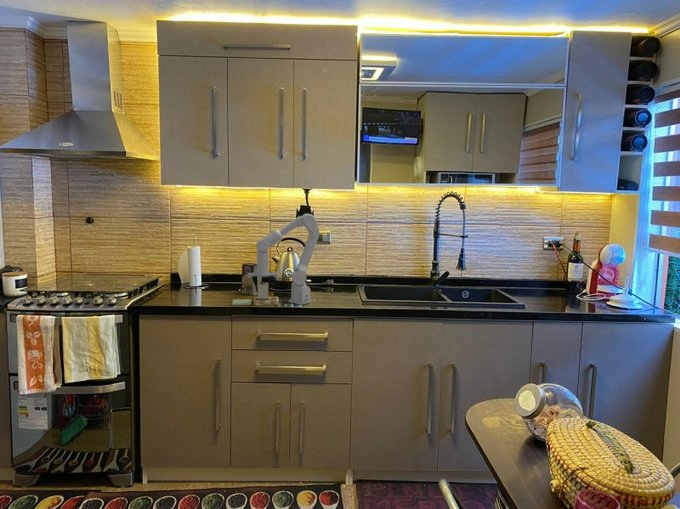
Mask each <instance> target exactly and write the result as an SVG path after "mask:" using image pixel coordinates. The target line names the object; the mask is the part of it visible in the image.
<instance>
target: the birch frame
mask: <svg viewBox="0 0 680 509" xmlns="http://www.w3.org/2000/svg"><path fill="white" fill-rule="evenodd" d="M279 302H280V301H279V297H278V296H268V299H258V296H254V297H253V306H279V305H280V303H279Z"/></svg>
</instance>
